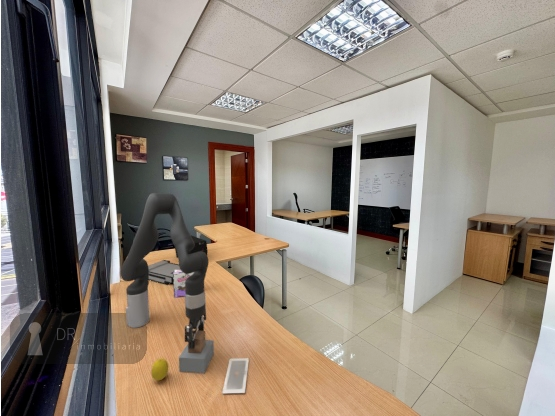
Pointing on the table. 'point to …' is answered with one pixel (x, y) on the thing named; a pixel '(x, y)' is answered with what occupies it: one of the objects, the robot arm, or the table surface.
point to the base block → (196, 359)
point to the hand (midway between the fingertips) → (196, 340)
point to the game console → (162, 272)
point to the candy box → (179, 282)
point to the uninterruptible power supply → (197, 246)
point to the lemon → (159, 369)
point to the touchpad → (236, 376)
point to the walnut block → (198, 342)
